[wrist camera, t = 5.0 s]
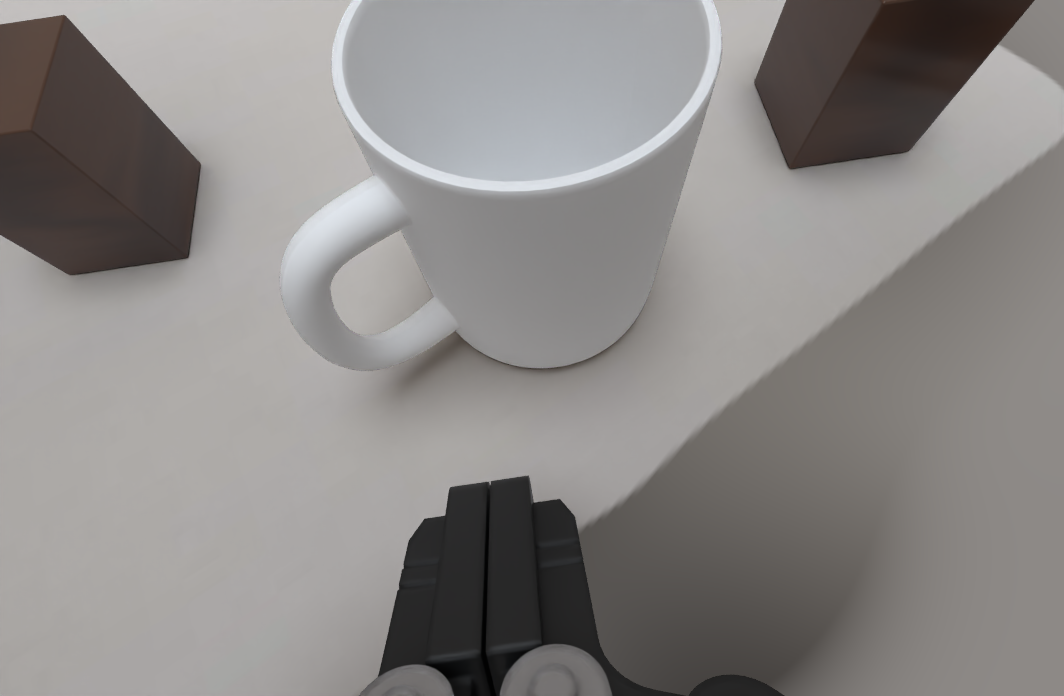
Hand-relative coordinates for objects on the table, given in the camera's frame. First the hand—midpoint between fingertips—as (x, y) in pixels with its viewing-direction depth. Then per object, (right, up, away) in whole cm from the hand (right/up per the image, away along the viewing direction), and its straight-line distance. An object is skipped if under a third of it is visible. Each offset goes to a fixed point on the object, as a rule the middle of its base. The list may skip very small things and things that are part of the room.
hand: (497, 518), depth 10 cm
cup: (0, +5, +10) cm, 11 cm away
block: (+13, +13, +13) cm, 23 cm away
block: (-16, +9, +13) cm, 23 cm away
